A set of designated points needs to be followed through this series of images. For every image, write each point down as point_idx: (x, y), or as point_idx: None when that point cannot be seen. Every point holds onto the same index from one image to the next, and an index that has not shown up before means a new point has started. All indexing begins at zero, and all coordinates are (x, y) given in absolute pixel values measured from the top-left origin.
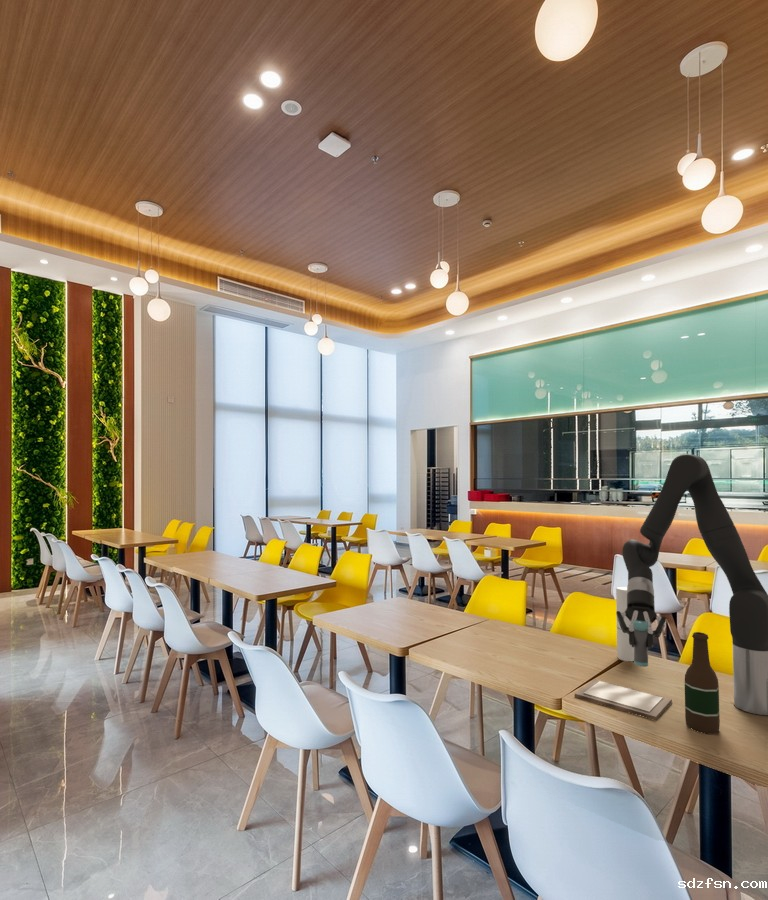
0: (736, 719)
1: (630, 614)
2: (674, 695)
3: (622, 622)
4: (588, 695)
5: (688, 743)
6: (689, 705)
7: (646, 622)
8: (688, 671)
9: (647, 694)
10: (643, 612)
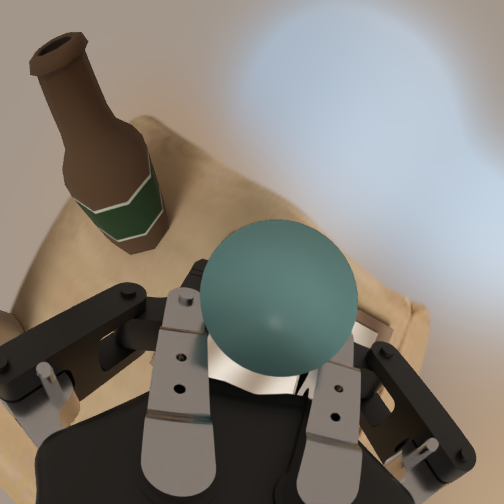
0: (53, 285)
1: (371, 474)
2: None
3: (410, 382)
4: (366, 327)
5: (199, 158)
6: (158, 189)
7: (217, 288)
8: (134, 143)
9: (210, 377)
10: (210, 481)
